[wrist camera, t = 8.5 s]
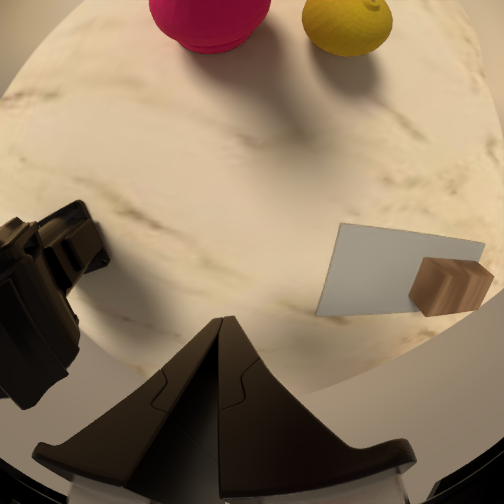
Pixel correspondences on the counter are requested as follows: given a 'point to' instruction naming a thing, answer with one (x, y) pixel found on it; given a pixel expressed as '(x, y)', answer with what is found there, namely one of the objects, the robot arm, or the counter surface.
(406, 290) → the strip
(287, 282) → the counter surface
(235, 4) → the pepper mill
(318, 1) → the lemon
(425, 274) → the walnut block
